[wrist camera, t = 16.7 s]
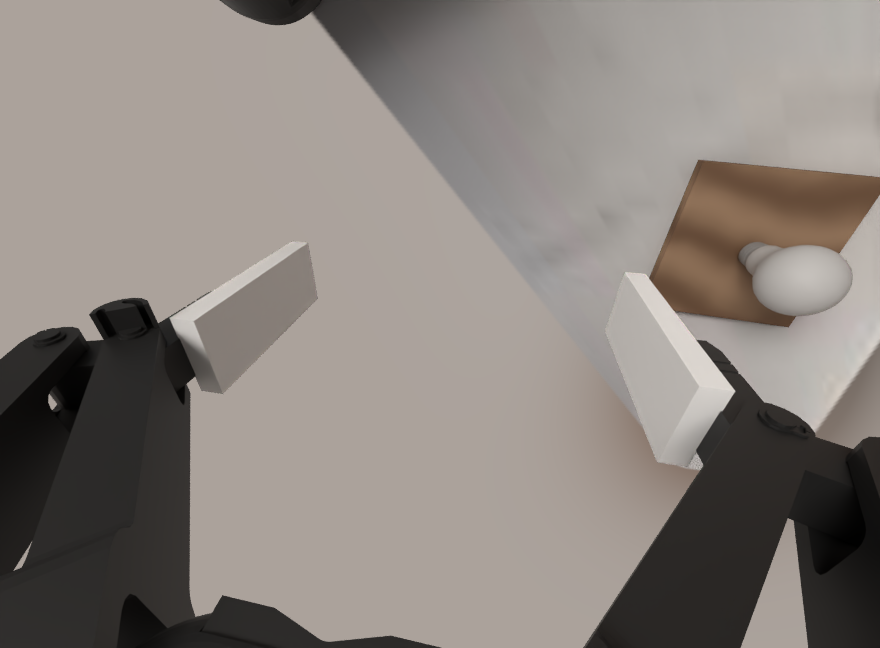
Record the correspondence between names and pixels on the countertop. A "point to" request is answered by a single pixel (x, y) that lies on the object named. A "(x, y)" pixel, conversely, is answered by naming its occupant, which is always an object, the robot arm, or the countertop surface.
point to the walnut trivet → (751, 231)
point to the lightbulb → (796, 277)
